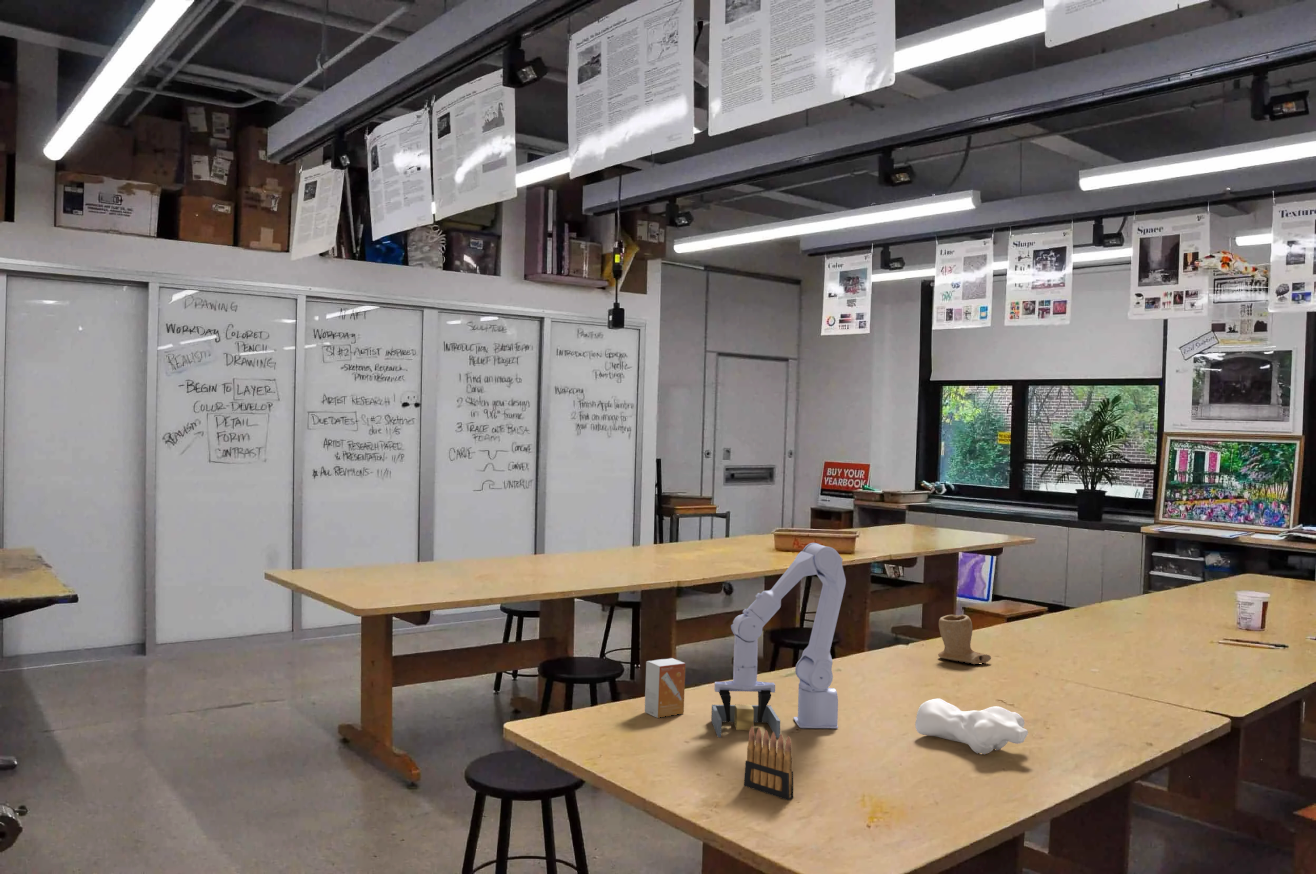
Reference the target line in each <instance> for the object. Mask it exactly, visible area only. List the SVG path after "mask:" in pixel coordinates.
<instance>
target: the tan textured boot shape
mask: <svg viewBox="0 0 1316 874" xmlns="http://www.w3.org/2000/svg"><path fill="white" fill-rule="evenodd" d="M938 628H939V633H940V637H941V639H942V642H943V645H944V648H943V650H942V651H941V652H938V653H937V655H938V657H939V658H941V659H945V660H950V661H953V662H958V661H959V662H958V663H963V662H965V663H964V664H969V663H971V665H975V664H979V663H984V664H986V663H988V662H989V661H991V659H992V656H991V655H989V654H988V653H987V654H986V653H981V652H978V651H977V652H976V651H974V650H973V649H972V647H971V643H972V636H973V621H972V620H971V618H970V616H969V615H966V614H959V615H957V614H947V615H943V616H941V617H940V618H939V620H938Z"/></svg>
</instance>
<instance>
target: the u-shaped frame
mask: <svg viewBox="0 0 1316 874" xmlns="http://www.w3.org/2000/svg"><path fill="white" fill-rule="evenodd" d="M751 705H752V707H753V709H754V720H753V723H759V722H758V720H757V715H758V704H751ZM734 718H735V704H730V722H729V723H734ZM710 721H711V725H712V727H713V728H714V731H715V733H716V737H717V736H718V737H717V738H722V728H723V727H722V726H723V725H722V724H723V723H728V722H727V721H726V714H725V709H724V705H723V704H711V720H710ZM762 723H767V724H768V726H769V728H770V729H771V731H772V733H773V732H774V733H775V737H776V738H777V739H779V736H780V734H781V720H780V718H779V716H778V715H777V713H776V712H775V710H774V708H773V707H772V705H770V704H769V705H768V704H767V706H766V708H765V711H764V714H763V718H762Z"/></svg>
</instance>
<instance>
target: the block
mask: <svg viewBox="0 0 1316 874" xmlns="http://www.w3.org/2000/svg"><path fill="white" fill-rule="evenodd" d="M734 705H735V718H734V722H733V724H734V727H735V729H736V731H750V728H751V726H753V727H754V722H753V720H754V709H753V707H752V705H753V704H734Z"/></svg>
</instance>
